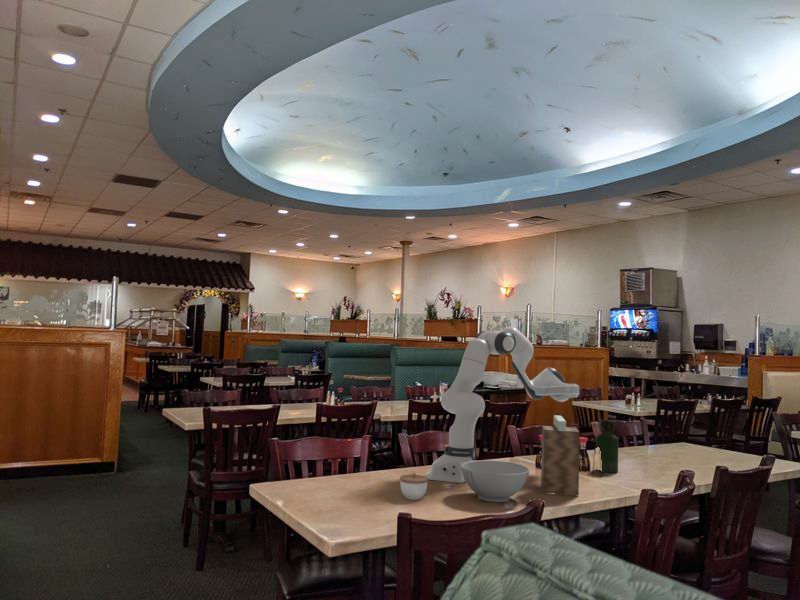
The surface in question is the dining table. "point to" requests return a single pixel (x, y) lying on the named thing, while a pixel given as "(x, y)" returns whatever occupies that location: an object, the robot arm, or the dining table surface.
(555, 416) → the sage block
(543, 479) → the wood grain block
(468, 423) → the robot arm
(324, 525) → the dining table surface
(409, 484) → the lidded jar
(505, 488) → the decorative bowl
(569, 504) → the dining table surface
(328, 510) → the dining table surface
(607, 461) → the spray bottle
